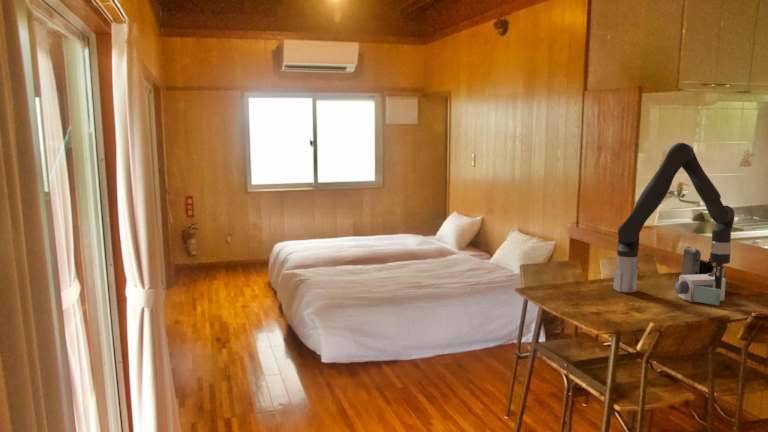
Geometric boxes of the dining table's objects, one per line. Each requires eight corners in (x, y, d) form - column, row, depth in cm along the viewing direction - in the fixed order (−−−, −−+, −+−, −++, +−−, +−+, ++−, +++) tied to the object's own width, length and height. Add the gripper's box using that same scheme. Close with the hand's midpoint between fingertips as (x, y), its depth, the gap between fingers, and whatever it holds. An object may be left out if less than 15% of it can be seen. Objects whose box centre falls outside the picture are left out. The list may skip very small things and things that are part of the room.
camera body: (683, 302, 248) (685, 278, 247) (671, 296, 258) (672, 273, 256) (724, 300, 250) (726, 276, 248) (710, 294, 259) (712, 271, 257)
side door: (690, 301, 247) (691, 285, 246) (691, 300, 249) (692, 284, 248) (718, 306, 240) (720, 290, 239) (719, 305, 242) (721, 289, 241)
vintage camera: (722, 291, 266) (726, 250, 263) (689, 290, 266) (693, 249, 264) (710, 286, 276) (715, 246, 273) (679, 285, 276) (683, 246, 273)
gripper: (711, 248, 249) (709, 285, 252) (708, 253, 238) (706, 292, 241) (731, 249, 245) (729, 288, 247) (729, 255, 234) (726, 295, 237)
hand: (717, 290), depth 244 cm, fingers closed
